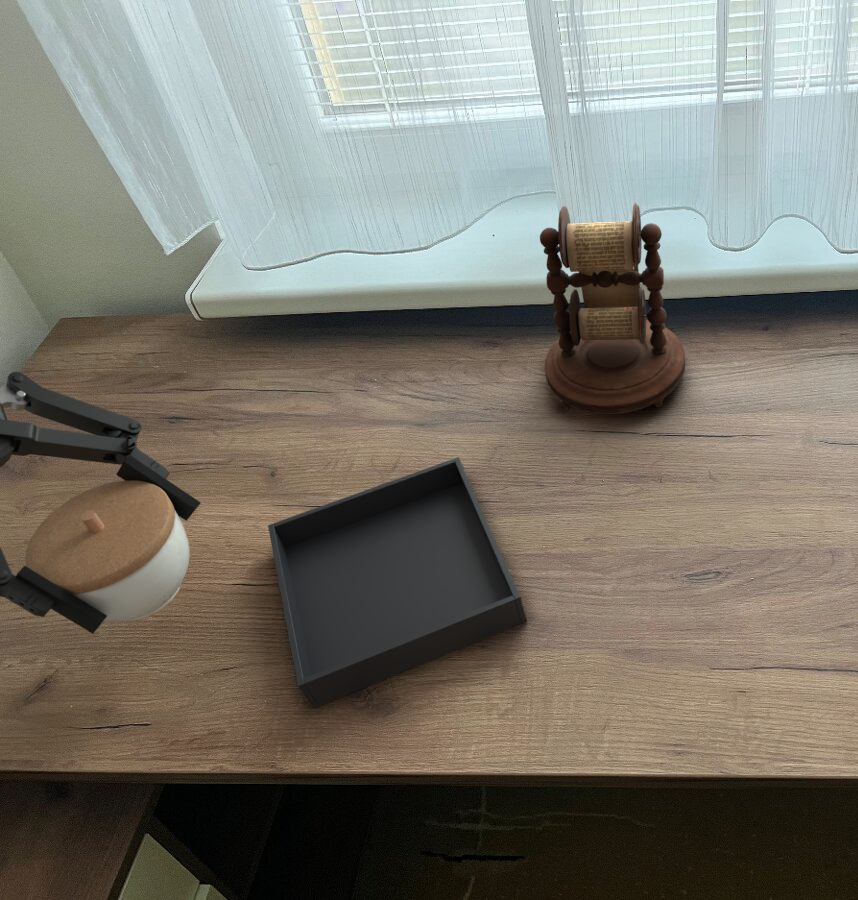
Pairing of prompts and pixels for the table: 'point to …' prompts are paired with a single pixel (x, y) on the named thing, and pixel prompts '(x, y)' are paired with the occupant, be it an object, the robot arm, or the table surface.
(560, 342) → the scroll
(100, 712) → the table surface
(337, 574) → the tray
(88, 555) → the trinket box
